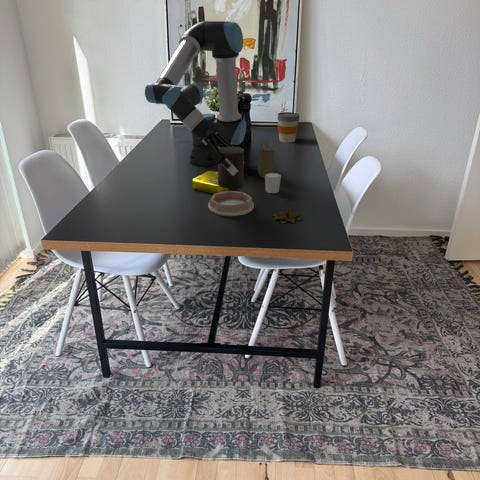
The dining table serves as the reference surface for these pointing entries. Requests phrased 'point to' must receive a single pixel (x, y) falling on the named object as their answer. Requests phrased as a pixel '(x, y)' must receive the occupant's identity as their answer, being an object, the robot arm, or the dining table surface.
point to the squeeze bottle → (266, 159)
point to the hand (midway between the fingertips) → (238, 169)
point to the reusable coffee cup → (287, 126)
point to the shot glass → (272, 182)
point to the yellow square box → (208, 183)
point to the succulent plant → (287, 214)
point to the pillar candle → (237, 160)
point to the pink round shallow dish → (231, 203)
